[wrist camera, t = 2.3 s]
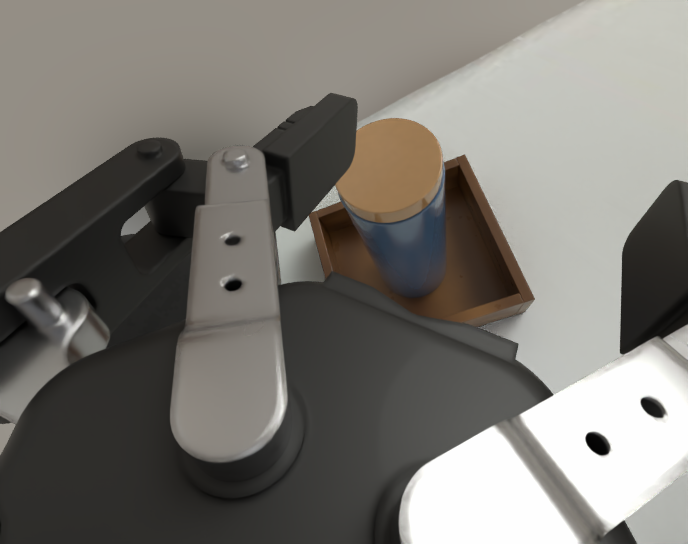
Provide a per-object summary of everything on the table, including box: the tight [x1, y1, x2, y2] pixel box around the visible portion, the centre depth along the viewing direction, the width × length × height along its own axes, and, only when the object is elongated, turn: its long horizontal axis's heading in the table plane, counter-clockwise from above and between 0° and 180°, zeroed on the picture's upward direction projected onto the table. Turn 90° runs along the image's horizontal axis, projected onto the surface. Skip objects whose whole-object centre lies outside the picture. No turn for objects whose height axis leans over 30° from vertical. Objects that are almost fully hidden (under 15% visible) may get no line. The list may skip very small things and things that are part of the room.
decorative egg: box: [106, 234, 192, 348], centre depth 32 cm, size 12×12×15 cm
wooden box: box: [309, 155, 535, 327], centre depth 34 cm, size 15×14×4 cm
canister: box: [335, 118, 447, 298], centre depth 28 cm, size 6×6×16 cm
